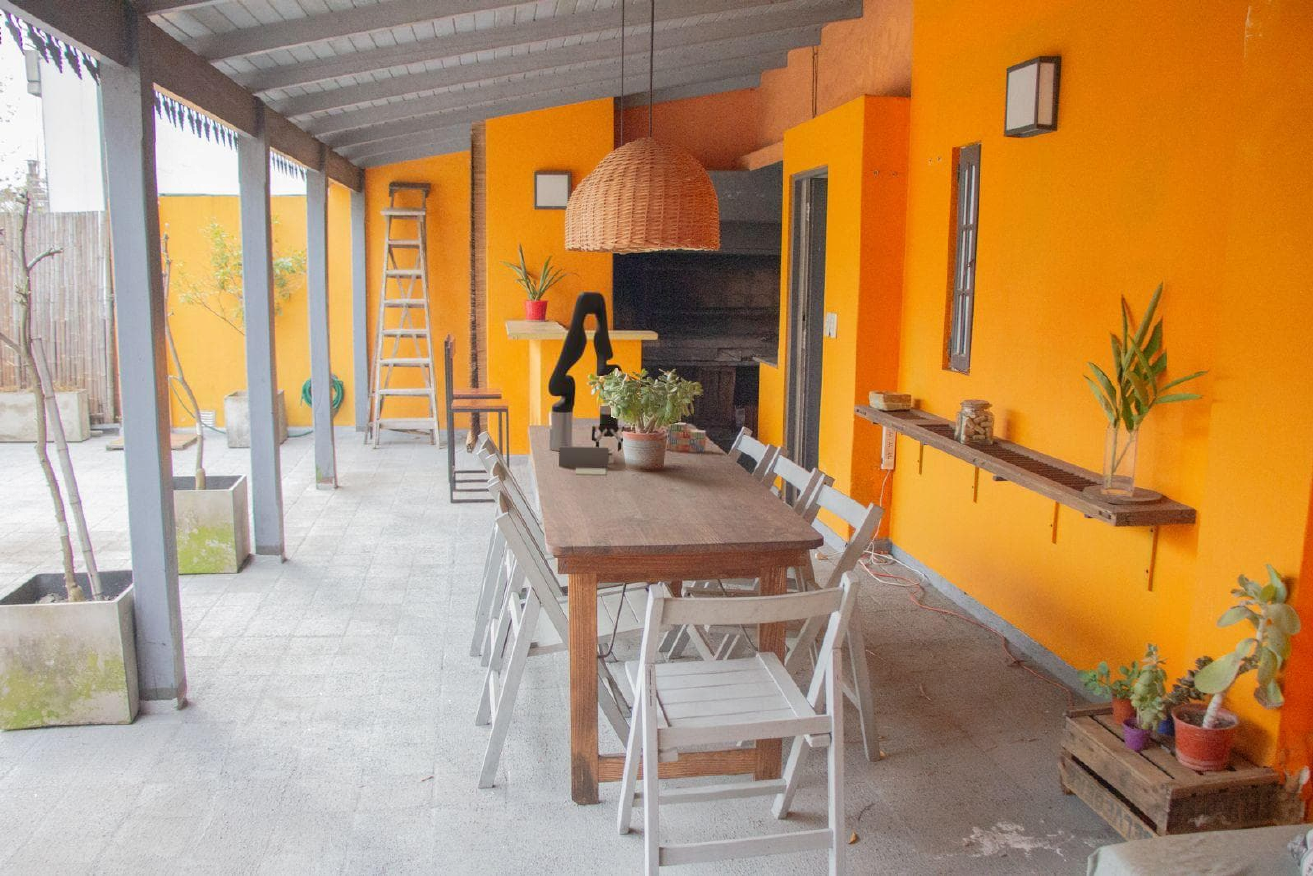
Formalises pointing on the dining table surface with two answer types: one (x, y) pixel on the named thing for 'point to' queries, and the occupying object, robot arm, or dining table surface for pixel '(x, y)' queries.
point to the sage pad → (590, 471)
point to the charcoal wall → (583, 456)
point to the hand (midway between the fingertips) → (608, 450)
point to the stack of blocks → (685, 438)
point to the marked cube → (610, 456)
